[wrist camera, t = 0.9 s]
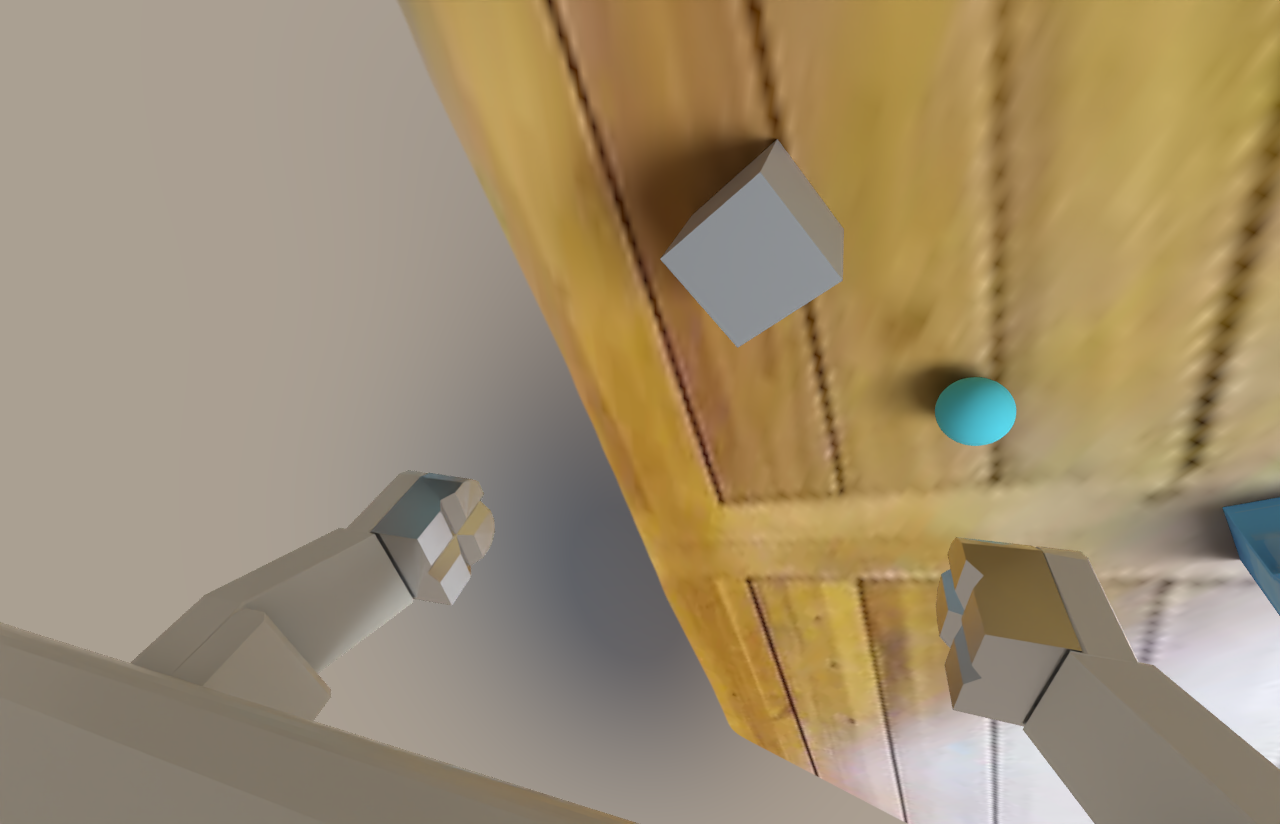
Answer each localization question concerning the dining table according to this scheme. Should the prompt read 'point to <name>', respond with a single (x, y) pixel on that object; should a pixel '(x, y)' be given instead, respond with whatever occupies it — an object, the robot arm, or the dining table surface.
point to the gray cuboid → (759, 247)
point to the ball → (975, 411)
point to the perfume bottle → (1259, 543)
